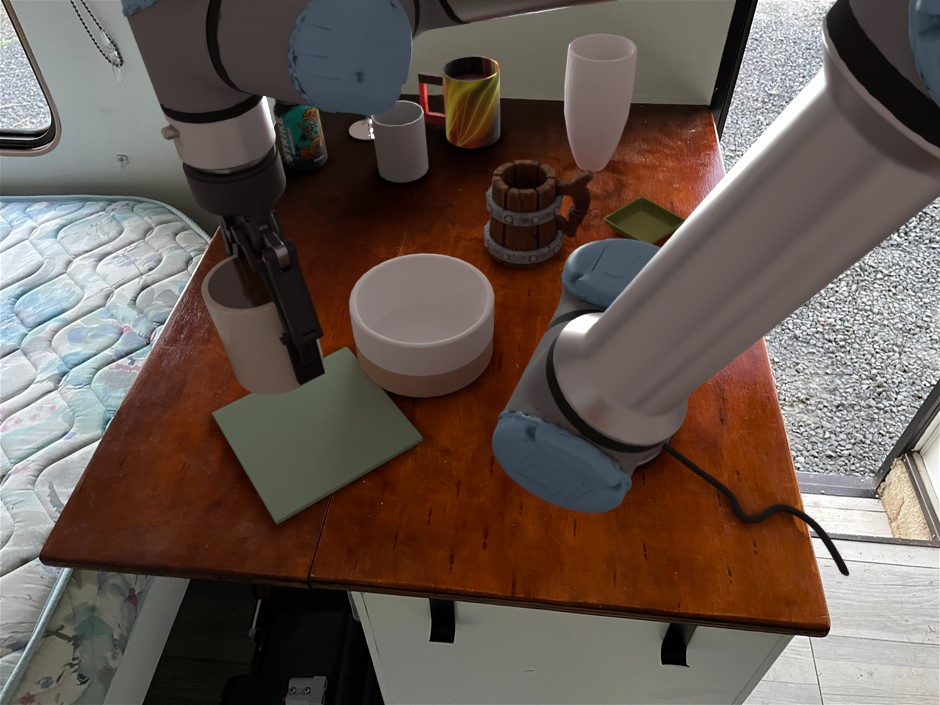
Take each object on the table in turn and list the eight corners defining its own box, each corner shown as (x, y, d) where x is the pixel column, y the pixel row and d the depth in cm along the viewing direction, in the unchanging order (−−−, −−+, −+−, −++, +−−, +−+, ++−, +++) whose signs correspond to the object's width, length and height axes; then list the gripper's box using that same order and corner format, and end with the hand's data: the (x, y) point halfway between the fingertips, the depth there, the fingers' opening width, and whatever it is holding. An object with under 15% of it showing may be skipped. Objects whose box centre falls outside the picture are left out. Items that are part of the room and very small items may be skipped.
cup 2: (626, 197, 111) (645, 62, 96) (559, 199, 112) (568, 64, 96) (617, 162, 118) (634, 30, 103) (555, 163, 119) (563, 32, 103)
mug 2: (482, 217, 108) (498, 129, 97) (573, 236, 108) (600, 150, 97) (471, 266, 100) (487, 176, 89) (570, 286, 100) (598, 198, 89)
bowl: (517, 330, 92) (520, 280, 86) (447, 419, 81) (444, 368, 75) (407, 287, 98) (402, 237, 92) (328, 364, 87) (318, 314, 81)
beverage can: (332, 168, 120) (319, 101, 112) (291, 177, 119) (275, 110, 110) (322, 148, 125) (309, 82, 116) (283, 157, 123) (266, 91, 115)
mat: (423, 440, 80) (423, 437, 79) (276, 525, 73) (275, 522, 72) (347, 349, 90) (346, 346, 90) (212, 415, 83) (211, 412, 83)
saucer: (645, 256, 101) (647, 245, 99) (600, 229, 106) (602, 218, 104) (685, 232, 104) (687, 220, 103) (639, 206, 109) (641, 195, 108)
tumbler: (221, 354, 73) (300, 319, 77) (254, 409, 68) (338, 369, 71) (187, 272, 65) (277, 236, 69) (221, 327, 60) (317, 286, 63)
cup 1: (421, 184, 116) (415, 128, 109) (372, 180, 117) (364, 124, 110) (433, 157, 122) (428, 102, 114) (387, 153, 123) (379, 99, 116)
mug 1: (422, 124, 130) (416, 59, 121) (497, 119, 130) (496, 53, 121) (423, 151, 123) (417, 85, 114) (503, 146, 123) (502, 79, 115)
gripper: (139, 112, 61) (215, 306, 77) (237, 234, 48) (303, 435, 64) (222, 87, 64) (278, 278, 80) (335, 196, 51) (375, 397, 67)
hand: (289, 348), depth 72 cm, fingers closed on tumbler, 9 cm apart
